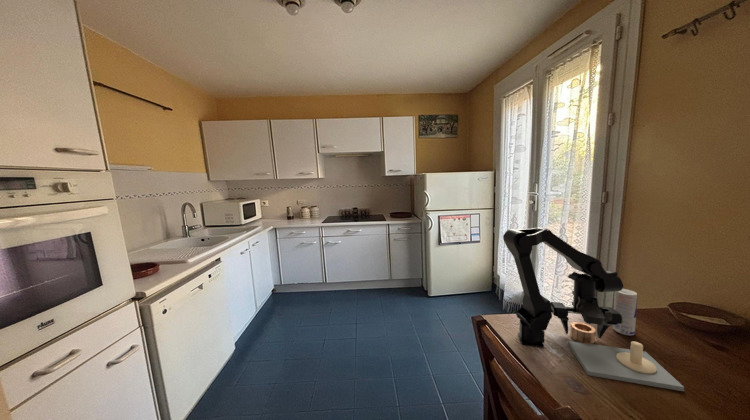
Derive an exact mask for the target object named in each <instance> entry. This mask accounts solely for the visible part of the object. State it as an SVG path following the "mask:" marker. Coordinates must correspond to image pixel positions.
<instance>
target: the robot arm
mask: <svg viewBox="0 0 750 420" xmlns="http://www.w3.org/2000/svg"><path fill="white" fill-rule="evenodd" d="M502 238H503V239H502V240H503V242H504V244H505V246H506V248H507V250H508V251H509V252H510V254H511V255H512V256H513V259H514V262H515V267H516V270H517V273H518V276H519V277H518V278H519V280H520V285H521V288H522V291H523V297H522V301H521V303H522V305H521V306H520V307H519V308H518V310H516V311H515V315H516V318H517V319H519V332H517V334H518V338H519V340H520V343H521V344H522V345H523V346H530V347H531V346H532V347H537V348H545V345H544V343H545V331H546V330H547V329H548V326H549V324H550V321H551V320H552V318H553V316H554V317H557V319H559V320H560V323H561V324H562V327H563V330H564V332H565V334H566V335H568V334H569V320H570V318H569V317H568V316H569V314H573V315H575V314H576V315H581V317H582V319H583V321H584V322H585V324H588V325H592V324H593V325H596V334H597V338H598V339H602V338H603V336H604V335H605V332H606V331H607V330H608V328H609V327H611V326H612V327H613V325H617V323H619V324H622V323H623V317H622V315H621V314H620V313H618V312H617V311H616V310H615V309H614V307H610V306H599V301H598V298H596V295H597V292H600V293H605V292H607V293H609V292H615V291H621V290H622V289H624V283H623V281H622V279H621V278H620V276H619V275H618V272H617V271H614V270H605V269H604V267H603V266H602V261H601V260H599V259H598V258H596V257H593V256H592V255H589V254H587V253H584V252H582V251H579V250H577V249H576V248H575V247H574V246H572V245H570V244H569V243H567V242H566V241H565V240H563V239H562V238H560V237H559V236H557V235H556V234H554V233H553V232H552V231H551V230H550V229H549V228H544V227H540V226H539V227H533V228H523V229H520V228H519V229H515V228H511V229H508V230H506V231H505V232H504V234H503V235H502ZM542 243H543V244H545V245H546V246H547V247H549V248H551V249H552V250H554V251H555V252H556V253H557V254H559V255H561V256H562V257H563V258H564V259H565V260H566V262H567V263H568V265H569V266H571V268H572V269H574V270H576V271H578V272H581V273H578V272H576V271H573V272H572V273H570V274H568V275H567V279H568V278H569V279H570V280H572V281H573V290H571V291H572V296H573V298H572V299H573V300H572V302H571V305H572V307H571V306H565V304H564V303H563V302H559V301H558V302H555V301H551V300H550V299H548V298H546V297H544V296H543V295H542V294H541V291H540V288H539V284H538V280H537V277H536V273H535V269H534V266H533V262H532V258H531V254H532V251H533V246H538V245H539V244H542Z"/></svg>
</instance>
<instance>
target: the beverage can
mask: <svg viewBox="0 0 750 420" xmlns="http://www.w3.org/2000/svg"><path fill="white" fill-rule="evenodd" d="M613 296H614V297H613V298H614V299H613V309H615V310H616V311H617V312H618V313H620V314H621V315H622V317H623V323H622V324H619V323H617V325H612V329H613V330H614V331H615V332H617V334H618V333H619V334H621V335H623V336H634V335H635V334H636V322H637V321H636V319H637V305H638V293H637V292H636V291H634V290H632V289H626V288H623V289H622V290H621V291H614V295H613Z"/></svg>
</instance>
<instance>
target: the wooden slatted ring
mask: <svg viewBox="0 0 750 420" xmlns="http://www.w3.org/2000/svg"><path fill="white" fill-rule="evenodd" d="M596 334H597V329H595V328H594V327H593V326H591V324H588V323H584V322H579V321H575V322H571V323H570V337H571V338H572V339H573V340H574V341H575V342H579V343H587V344H594V345H595V343H596Z"/></svg>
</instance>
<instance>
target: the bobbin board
mask: <svg viewBox="0 0 750 420" xmlns="http://www.w3.org/2000/svg"><path fill="white" fill-rule="evenodd" d="M567 346H568V347H569V349H570V350H571V352H572V354H573V355H574V356H575V359H577V361H578V362H579V364H580V366H581V367H582V369H583V370H584V372H585V373H586V374H587V376H591V377H596V378H603V379H609V380H615V381H619V382H620V381H621V382H626V383H633V384H638V385H642V386H643V385H645V386H650V387H655V388H660V389H668V390H673V391H678V392H679V391H680V392H685V386H684V385H682V383H681V382H680V381H679V380H677V379H676V378H675V377H674V376H673V375H672V374H671V373H670V372H668V371H667V370H666V369H665V368H664V367H663V366H662V365H661V364H660V363H658V361H656V360H655V359H654V358H653V357H652V356H651V355H650V354H649V353H648V352H646V351H644V345H643V344H642V343H640V342H638V341H630V347H629V348H630V349H629V348H621V347H614V346H609V345H600V344H595V343H594V344H587V343H581V342H578V341H571V340H567Z"/></svg>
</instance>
